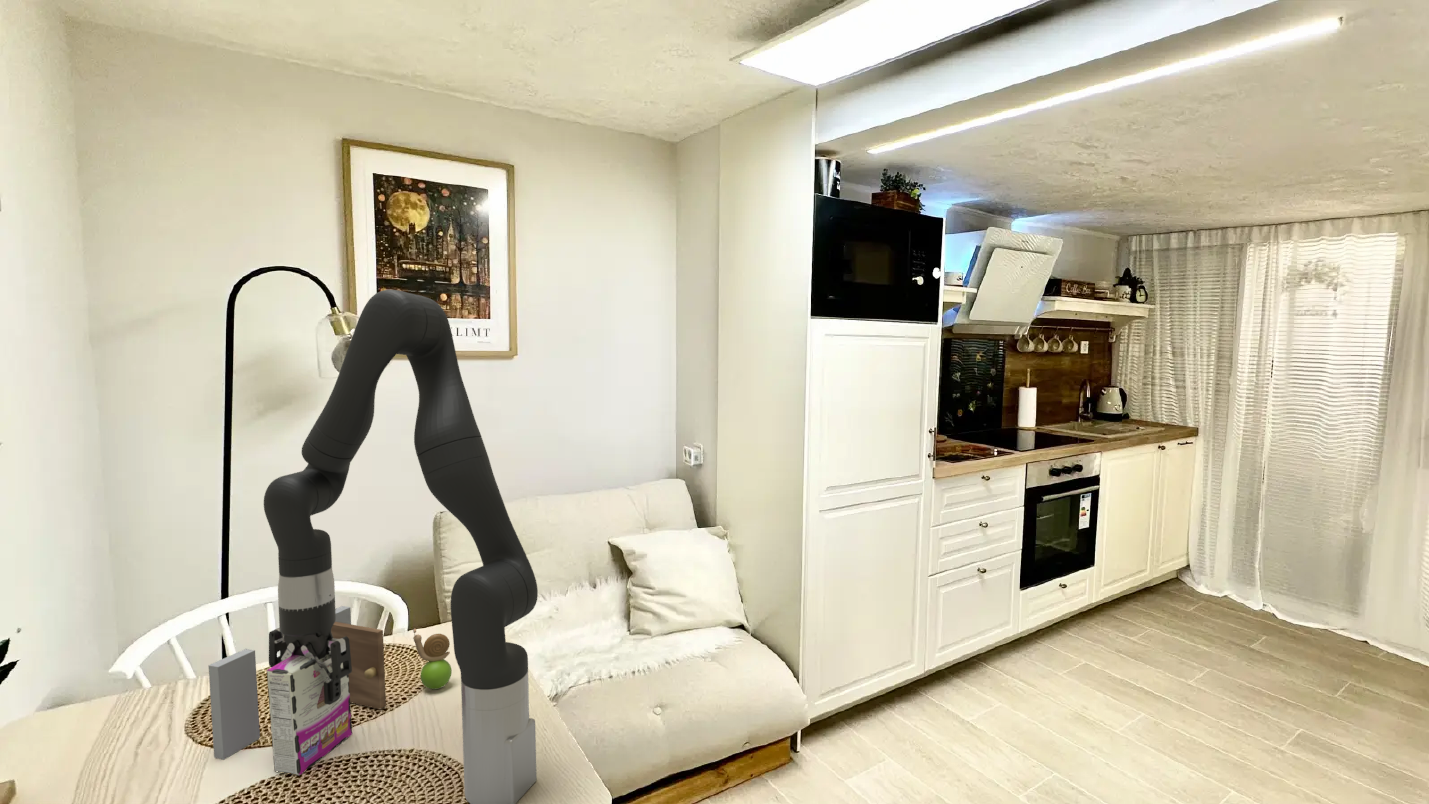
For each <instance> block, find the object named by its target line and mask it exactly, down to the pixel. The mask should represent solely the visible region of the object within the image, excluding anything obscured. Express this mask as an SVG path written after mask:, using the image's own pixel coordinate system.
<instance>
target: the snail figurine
mask: <svg viewBox="0 0 1429 804" xmlns="http://www.w3.org/2000/svg"><path fill="white" fill-rule="evenodd" d="M413 633H414V635H413V638H412V639H413V642H414V643H415V644H414V645H415V648H416V651H417V654H418V656H419V657H420V658H421V659H422V660H424V661H426V663H425V664H424V665H423V667H422V668H421V671H420V682H421V683H422V686H424V687H426V688H427V689H430V690H438V689H440V688H441V689H442V688H443V687H444V686H446V685H447V684H448V682H449V681H450V679H451V678H452V677H451V676H452V667H451V664H450V663H449V662H448V660H445V659H446V658H447V657H448V656H449V655H450V654H451V653H450V651H448V650H449V649H450V645H451V644H450V639H449V638H448V637H447V636H446V635H445V634H443V633H433V634H432V635H430V636H429V637H427V638H426V640H425V641H424V643H423V642H422V635H421V634H419V633H418V634H416V633H417V629H416V628H413Z"/></svg>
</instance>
